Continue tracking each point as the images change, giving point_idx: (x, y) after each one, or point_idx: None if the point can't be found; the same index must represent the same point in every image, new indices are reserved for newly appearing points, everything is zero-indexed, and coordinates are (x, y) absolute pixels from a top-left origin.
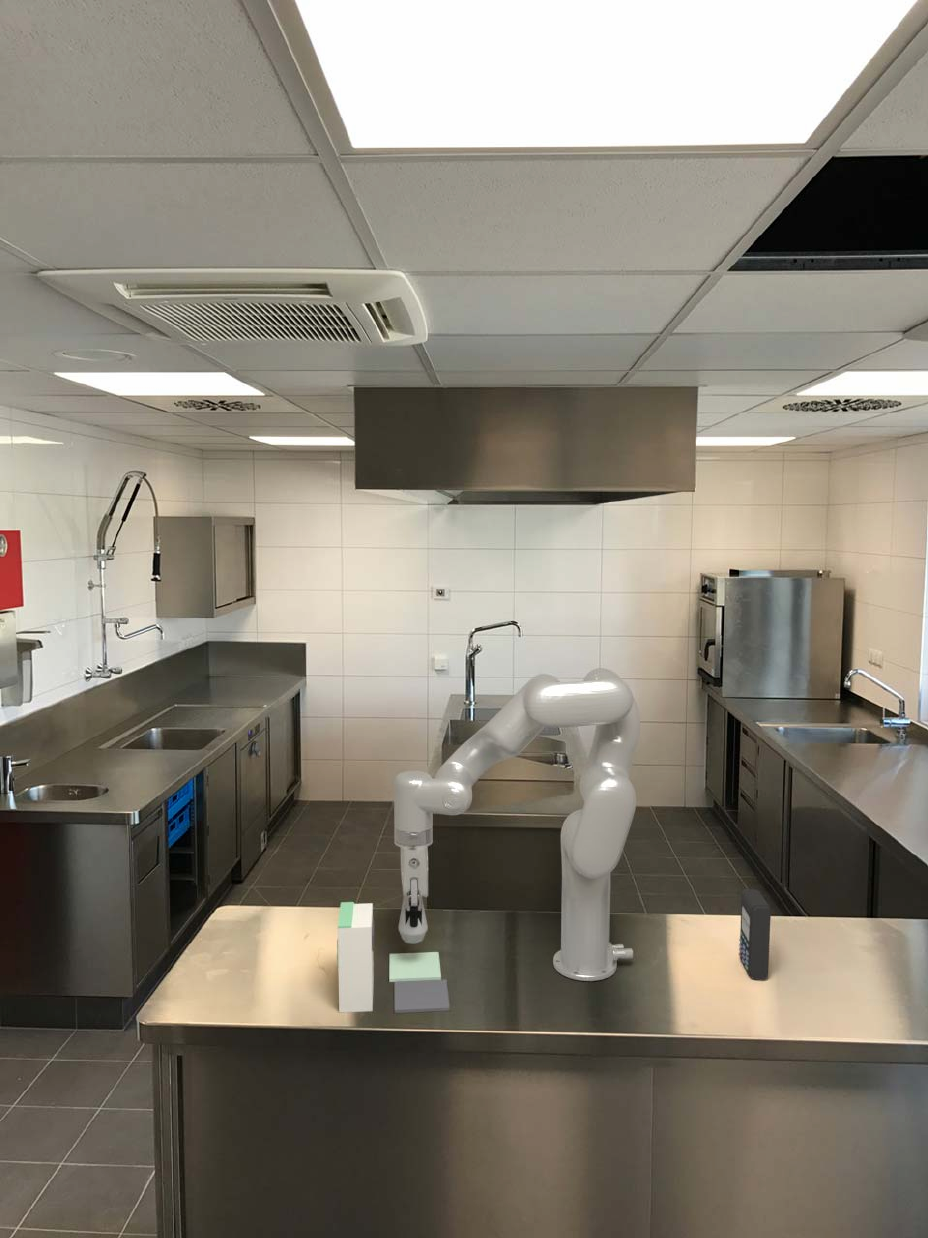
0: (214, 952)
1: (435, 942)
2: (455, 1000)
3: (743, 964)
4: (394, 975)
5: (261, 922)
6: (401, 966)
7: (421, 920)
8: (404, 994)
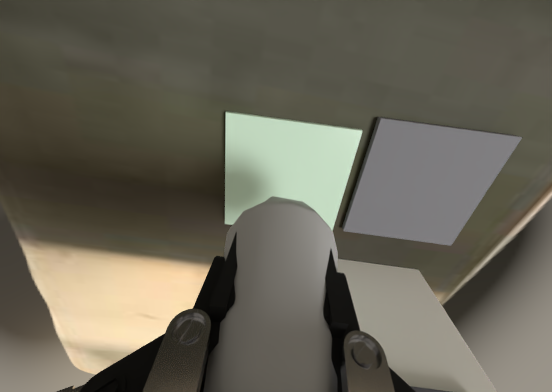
0: None
1: (155, 106)
2: (476, 109)
3: None
4: None
5: (112, 350)
6: None
7: (336, 271)
8: (404, 222)
